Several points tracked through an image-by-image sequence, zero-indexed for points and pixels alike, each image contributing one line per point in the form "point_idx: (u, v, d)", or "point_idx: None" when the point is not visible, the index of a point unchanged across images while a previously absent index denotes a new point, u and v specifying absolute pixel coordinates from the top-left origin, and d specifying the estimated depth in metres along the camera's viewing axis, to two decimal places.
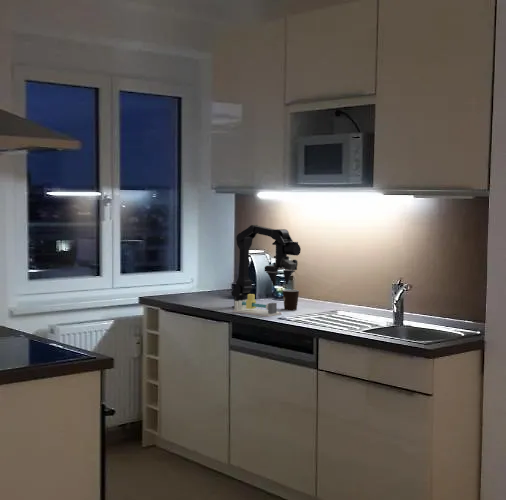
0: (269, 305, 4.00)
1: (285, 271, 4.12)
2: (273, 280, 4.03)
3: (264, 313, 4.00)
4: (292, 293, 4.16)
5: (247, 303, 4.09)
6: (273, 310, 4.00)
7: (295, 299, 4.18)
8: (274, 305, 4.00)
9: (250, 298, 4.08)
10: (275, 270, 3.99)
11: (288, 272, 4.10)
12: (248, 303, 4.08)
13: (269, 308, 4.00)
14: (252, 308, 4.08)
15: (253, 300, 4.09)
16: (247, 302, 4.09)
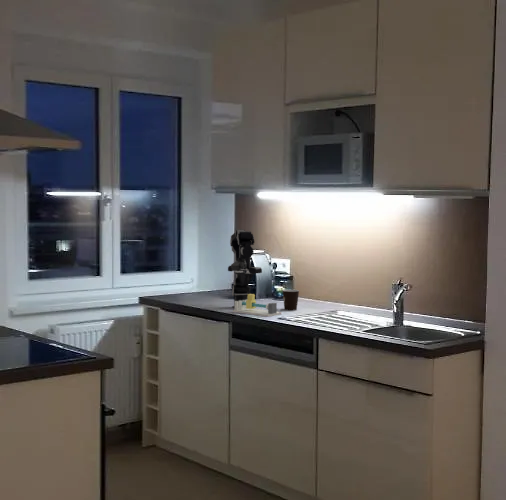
0: (269, 305, 4.00)
1: None
2: None
3: (264, 313, 4.00)
4: (292, 293, 4.16)
5: (247, 303, 4.09)
6: (273, 310, 4.00)
7: (295, 299, 4.18)
8: (274, 305, 4.00)
9: (250, 298, 4.08)
10: (229, 269, 4.14)
11: None
12: (248, 303, 4.08)
13: (269, 308, 4.00)
14: (252, 308, 4.08)
15: (253, 300, 4.09)
16: (247, 302, 4.09)
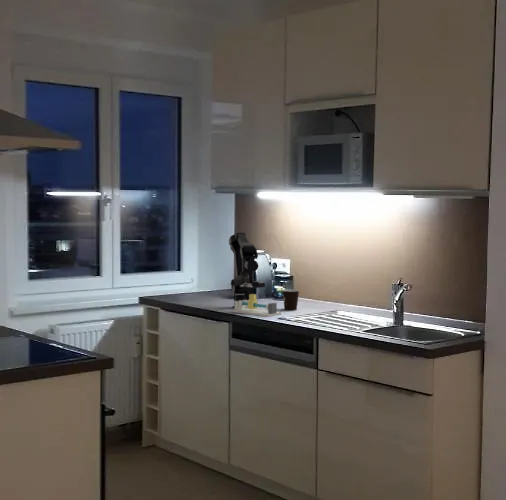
0: (269, 305, 4.00)
1: None
2: None
3: (264, 313, 4.00)
4: (292, 293, 4.16)
5: (249, 303, 4.08)
6: (273, 310, 4.00)
7: (295, 299, 4.18)
8: (274, 305, 4.00)
9: (252, 298, 4.08)
10: (232, 283, 4.13)
11: None
12: (250, 303, 4.07)
13: (269, 308, 4.00)
14: (254, 308, 4.08)
15: (255, 300, 4.08)
16: (249, 302, 4.08)
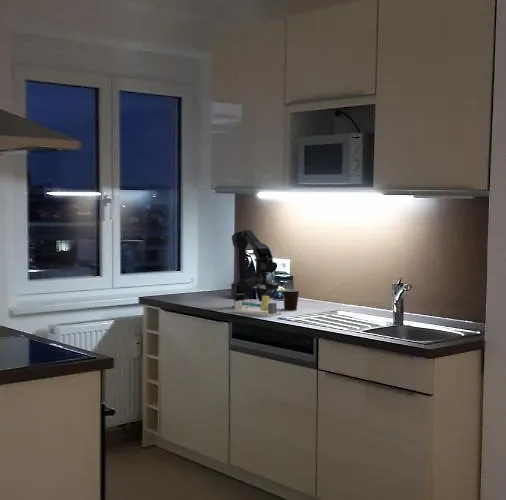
0: (269, 305, 4.00)
1: None
2: None
3: (264, 313, 4.00)
4: (292, 293, 4.16)
5: (261, 305, 4.03)
6: (273, 310, 4.00)
7: (295, 299, 4.18)
8: (274, 305, 4.00)
9: (264, 300, 4.02)
10: (245, 284, 4.07)
11: None
12: (262, 305, 4.02)
13: (269, 308, 4.00)
14: (266, 310, 4.02)
15: (267, 302, 4.03)
16: (261, 304, 4.02)
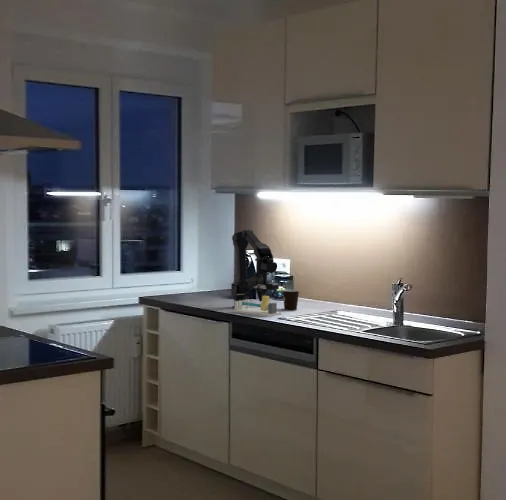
0: (269, 305, 4.00)
1: None
2: None
3: (264, 313, 4.00)
4: (292, 293, 4.16)
5: (261, 305, 4.03)
6: (273, 310, 4.00)
7: (295, 299, 4.18)
8: (274, 305, 4.00)
9: (264, 300, 4.02)
10: (246, 284, 4.07)
11: None
12: (262, 305, 4.02)
13: (269, 308, 4.00)
14: (266, 310, 4.02)
15: (267, 302, 4.03)
16: (261, 304, 4.02)
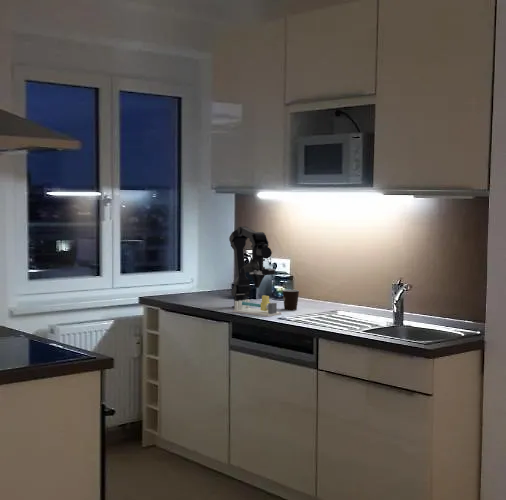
0: (269, 305, 4.00)
1: None
2: None
3: (264, 313, 4.00)
4: (292, 293, 4.16)
5: (261, 305, 4.03)
6: (273, 310, 4.00)
7: (295, 299, 4.18)
8: (274, 305, 4.00)
9: (264, 300, 4.02)
10: (242, 271, 4.09)
11: None
12: (262, 305, 4.02)
13: (269, 308, 4.00)
14: (266, 310, 4.02)
15: (267, 302, 4.03)
16: (261, 304, 4.02)
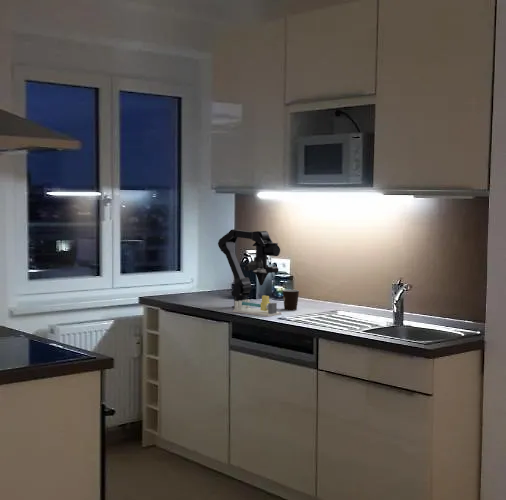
0: (269, 305, 4.00)
1: None
2: None
3: (264, 313, 4.00)
4: (292, 293, 4.16)
5: (261, 305, 4.03)
6: (273, 310, 4.00)
7: (295, 299, 4.18)
8: (274, 305, 4.00)
9: (264, 300, 4.02)
10: (246, 269, 4.18)
11: None
12: (262, 305, 4.02)
13: (269, 308, 4.00)
14: (266, 310, 4.02)
15: (267, 302, 4.03)
16: (261, 304, 4.02)
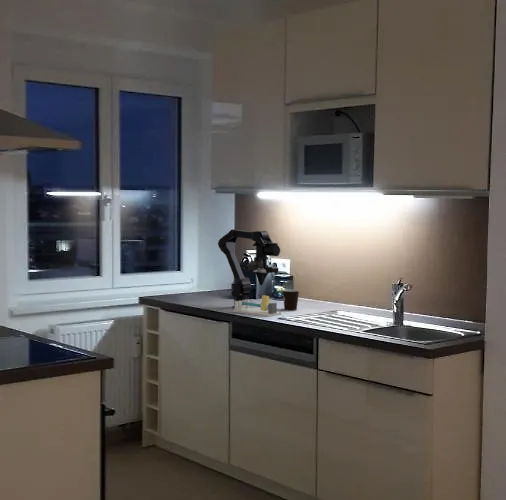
0: (269, 305, 4.00)
1: None
2: None
3: (264, 313, 4.00)
4: (292, 293, 4.16)
5: (261, 305, 4.03)
6: (273, 310, 4.00)
7: (295, 299, 4.18)
8: (274, 305, 4.00)
9: (264, 300, 4.02)
10: (246, 269, 4.18)
11: None
12: (262, 305, 4.02)
13: (269, 308, 4.00)
14: (266, 310, 4.02)
15: (267, 302, 4.03)
16: (261, 304, 4.02)
